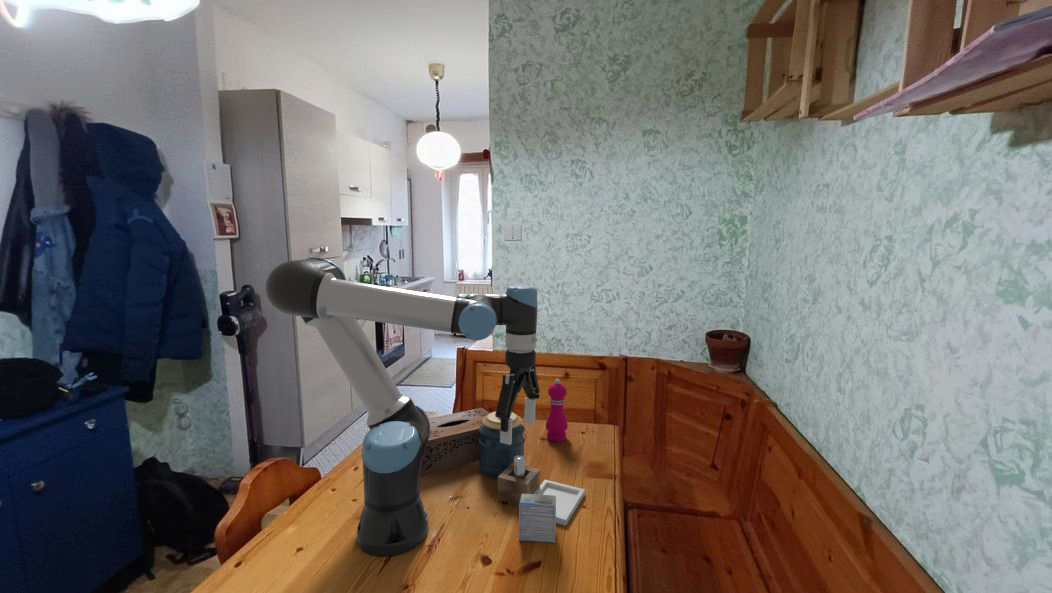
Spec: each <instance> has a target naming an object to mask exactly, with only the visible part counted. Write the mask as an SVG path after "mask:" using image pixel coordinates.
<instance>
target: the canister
mask: <svg viewBox="0 0 1052 593" xmlns="http://www.w3.org/2000/svg"><path fill="white" fill-rule="evenodd" d="M489 413H490V414H488V415H487V416H485V417H484V418H483V419H482V423H483V424H482V425H481V426H480V427H479V432H480V433H481V437H480V438H479V443H480V458H479V460H478V465H479V471H480V472H481V473H482V474H484V476H487V477H490V478H492V479H498V476H499V475H500V474H501V473H502V472H503V471H504V470H505V469H506V468H507V467H508V466H509V465H510V464H511V463H514V457H515V456H519V455H520V456H524V457H525V441H526V439H525V436H524V433H525V432H526V426H525V425H524V424H523V419H522V417H521V416H519V415H518V414H517V413H515V412H514V411H512V413H511V416H510V417H512V444H511V445H508V444H504V443H500V419H501V418H499V417H496V416H495V414H496V410H495V411H492V412H489Z"/></svg>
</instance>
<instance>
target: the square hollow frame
mask: <svg viewBox="0 0 1052 593" xmlns="http://www.w3.org/2000/svg"><path fill="white" fill-rule="evenodd" d="M540 485H541V469H539V468H535V467H531V466H528V465H525V478H524V479H520V478H516V477H514V463H511V464H510V465H509V466H508V467H507V468H506V469H505V470H504V471H503V472H502V473H501V474H500V475H499V476H498V478H497V500H499V501H501V502H505V503H508V504H513V505H516V506H519V502H520V498H521V494H534V492H535V491H536V490H537V489H538V487H539V486H540Z"/></svg>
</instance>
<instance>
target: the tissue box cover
mask: <svg viewBox="0 0 1052 593" xmlns="http://www.w3.org/2000/svg"><path fill="white" fill-rule="evenodd" d="M490 413H491V412H488V411H487V410H486V409H484V408H483V407H479V408H474V409H468V410H463V411H460V412H459V411H458V412H454V413H450V414H445V415H441V416H435V417H431V418H429V417H428V418H429V421H430V436H429V439H428V442H427V444H426V447H425V449H424V452H423V455H422V458H421V461H420V467H419V477H423V476H426V475H429V474H434V473H437V472H441V471H445V470H448V469H452V468H456V467H458V466H459V467H460V466H462V465H466V464H470V463H473V462H474V463H475V462H477V461H478V462H479V458H480V443H479V438H480V437H481V433H480V432H479V427H480V426H481V425H482V424H483V423H482V419H483V418H484V417H485V416H487V415H488V414H490Z"/></svg>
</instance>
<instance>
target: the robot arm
mask: <svg viewBox="0 0 1052 593" xmlns="http://www.w3.org/2000/svg"><path fill="white" fill-rule="evenodd" d="M505 290H506V291H505V293H501V294H497V293H496V294H492V293H486V294H485V293H472V292H469V293H460V294H458V295H457V296H456V297H455V296H448V295H442V294H436V293H431V292H429V293H428V292H422V291H416V290H409V289H402V288H399V287H398V288H396V287H389V286H383V285H379V284H378V285H377V284H370V283H366V282H359V281H353V280H347V278H346V275H345V273H344V271H343V269H342V268H341V267H340V266H339V265H338V264H336V263H335V262H333V261H331V260H329V259H326V258H321V257H307V258H304V259H295V260H294V259H293V260H288V261H285V262H282V263H280V264H279V265H277V266H275V267H274V268H273V269H272V270H271V271H270V273H269V274H268V276H267V279H266V281H265V293H266V294H265V295H266V297H267V299H268V301H269V302H270V304H271V305H272V306H273V307H274V308H275V309H276V310H278V311H279V312H282V313H283V314H286V315H290V316H295V317H296V316H298V317H301V319H302V321H303V322H304V324H305V325H306V326H310V327H313V328H316V329H317V332H318V333H319V335H320V336H321V338H322V340H323V341H324V343H325V345H326V346H327V348H328V349H329V351H330V353H331V355H332V356H333V358H334V359H335V361H336V363H337V364H338V366H339V367H340V369H341V371H342V373H343V374H344V375H345V377H346V379H347V381H348V382H349V384H350V385H351V387H352V389H353V391H354V392H355V393H356V395H357V397H358V398H359V400H360V401H361V403H362V405H363V407H364V408H365V410H366V411H367V413H368V414H367V420H366V425H367V427H368V428H369V430H368V432H367V433H366V434H365V435H364V438H363V440H362V448H361V459H362V470H363V471H362V472H363V473H362V474H363V476H362V478H363V496H364V497H363V501H364V504H363V508H362V510H361V515H360V517H359V522H358V525H357V527H356V543H357V545H358V547H359V548H360V549H361V550H362V551H363V552H364V553H366V554H368V555H372V556H375V557H376V556H377V557H378V556H379V557H390V556H396V555H400V554H403V553H406V552H408V551H410V550H412V549H414V548H416V547H418V546H419V545H420V544H422V542H423V541H424V540H425V539H426V538H427V535H428V533H429V516H428V514H427V511H426V510H425V506H424V504H423V501H422V498H421V494H420V493H421V491H420V489H421V488H420V486H421V485H420V484H421V483H420V480H421V479H420V475H419V467H420V461H421V458H422V455H423V452H424V449H425V447H426V444H427V442H428V439H429V436H430V421H429V416H428V414H427V412H426V411H425V410H424V409H423V408H422V407H421V406H419V405H416V404H415V402H414V401H413V399H412V398H411V396H410V395H407V394H402V393H401V392H400V390H399V389H398V387H397V385H396V383H395V381H394V380H393V378H392V377H391V375H390V374H389V371H388V369H387V368H386V367H385V364H384V363H383V361H382V360H381V358H380V357H379V355H378V353H377V352H376V350H375V348H374V347H373V345H372V343H371V341H370V340H369V338H368V336H367V335H366V333H365V331H364V330H363V328H362V326H361V325H360V323H359V321H358V320H361V321H363V320H364V321H370V322H375V323H381V324H384V323H385V324H391V325H397V326H403V327H404V326H405V327H409V328H410V327H411V328H418V329H424V330H425V329H426V330H430V331H431V330H432V331H439V332H446V333H453V334H457V335H463V336H464V337H466V338H467V339H469V340H472V341H477V342H478V341H483V340H485V339H488V337H490V336H491V335H492V333H493V332H494V330H495V328H496V326H505V338H504V339H505V340H504V347H505V351H504V364H505V366H507V367H508V368H509V373H508V374H503V375H502V384H501V388H500V392H499V397H498V400H497V401H498V402H497V406H496V410H495V411H496V414H495V416H496V417H499V418H501V419H500V443H504V444H508V445H511V444H512V417H510V416H511V413H512V412H513V409H514V407H515V404H516V403H515V402H516V400H517V397H518V395H519V393H521V391H522V389H523V392H524V393H525V395H526V397H525V398H524V414H523V415H524V417H523V418H524V420H523V421H524V422H523V423H526V424H530V425H534V424H535V423H536V400H539V399H540V387H539V381H538V376H537V375H538V374H537V371H536V370H537V368H536V359H537V358H536V357H537V356H536V355H537V351H536V347H537V342H538V340H539V339H538V337H537V326H538V325H537V323H538V290H537V289H536V288H535V287H534V286H530V285H509V286H507V287H506V289H505Z"/></svg>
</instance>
